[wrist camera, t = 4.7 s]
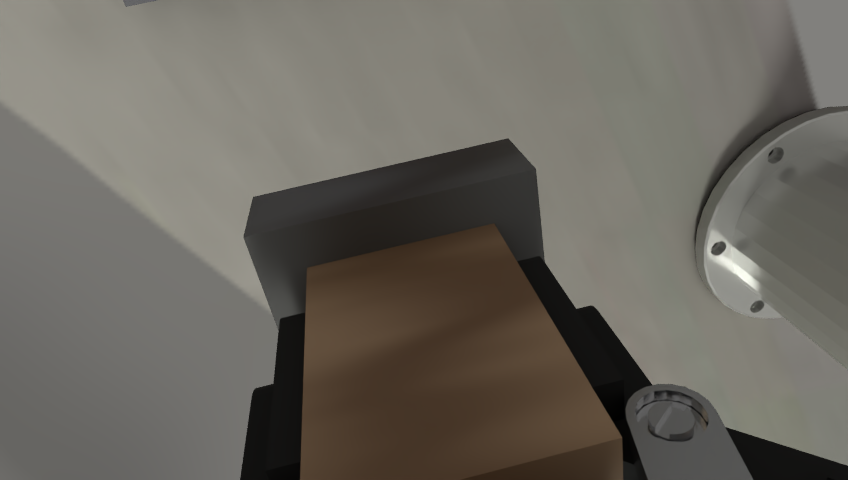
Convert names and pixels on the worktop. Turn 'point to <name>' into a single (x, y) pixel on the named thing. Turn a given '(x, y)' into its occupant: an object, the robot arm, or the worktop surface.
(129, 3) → the ink pad
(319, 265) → the stamp
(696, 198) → the worktop surface
